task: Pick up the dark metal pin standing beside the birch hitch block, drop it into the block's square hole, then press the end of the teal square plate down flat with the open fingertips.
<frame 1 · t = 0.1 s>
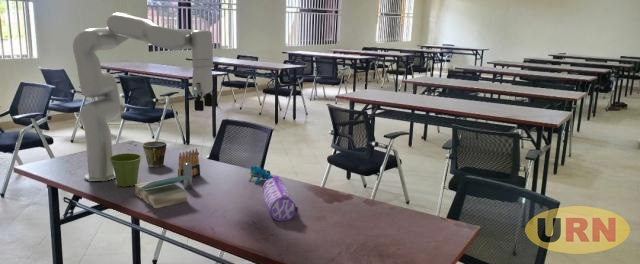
hand: (204, 108, 201), 31 cm above the table, tool pointing down, fingers open, 9 cm apart
plant pot: (127, 185, 207), on the table
gear: (260, 182, 215), on the table
pencil case: (278, 211, 184), on the table
hitch block: (160, 197, 194), on the table
ceramic cup: (155, 167, 232), on the table
ammunition clip: (189, 179, 217), on the table
teal square plate: (164, 182, 189), point 7 cm above the table, hinge at 25.0°
steel pin: (188, 188, 205), on the table
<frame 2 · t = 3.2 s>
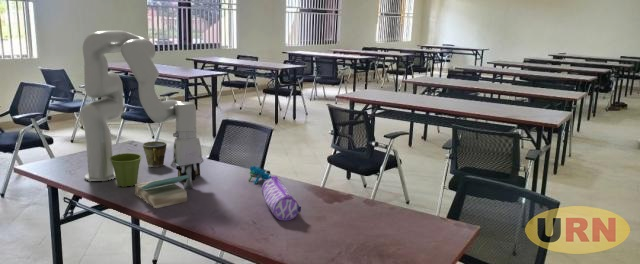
hand: (188, 180, 204), 3 cm above the table, tool pointing down, fingers closed on steel pin, 3 cm apart
steel pin: (188, 188, 205), on the table, touching gripper
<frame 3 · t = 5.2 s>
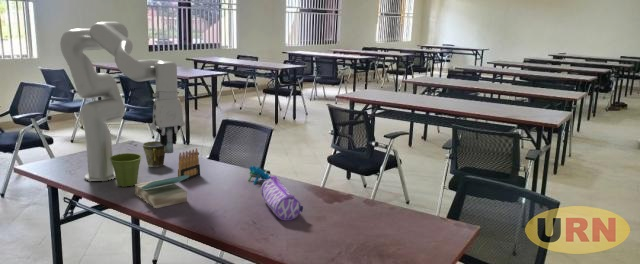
hand: (168, 143, 196), 19 cm above the table, tool pointing down, fingers closed on steel pin, 3 cm apart
steel pin: (168, 152, 197), point 16 cm above the table, touching gripper
everything else where it was.
when the fingers open (6 cm above the table, at t = 7.6 s): steel pin drops 1 cm, resting on hitch block.
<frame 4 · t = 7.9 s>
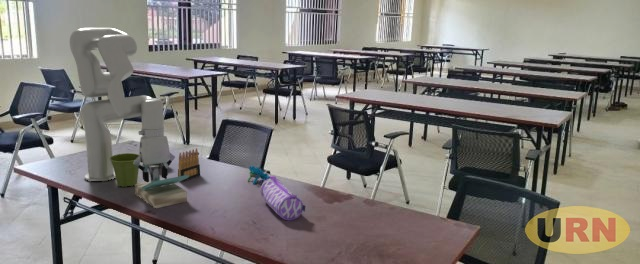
hand: (155, 179, 195), 6 cm above the table, tool pointing down, fingers open, 6 cm apart
steel pin: (156, 192, 196), point 1 cm above the table, touching hitch block
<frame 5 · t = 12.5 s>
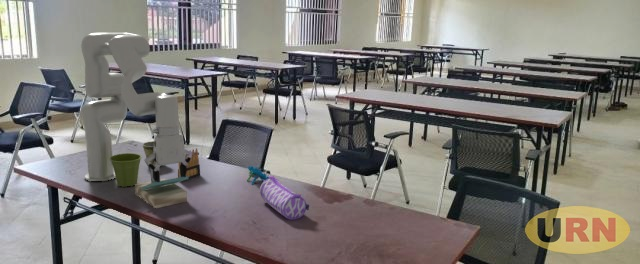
hand: (170, 178, 185), 10 cm above the table, tool pointing down
teal square plate: (164, 182, 189), point 7 cm above the table, hinge at 23.3°, touching gripper
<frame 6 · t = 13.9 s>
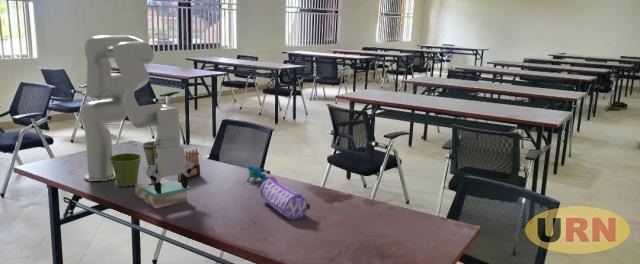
hand: (171, 189, 186), 6 cm above the table, tool pointing down
teal square plate: (166, 188, 189), point 5 cm above the table, hinge at 3.3°, touching gripper
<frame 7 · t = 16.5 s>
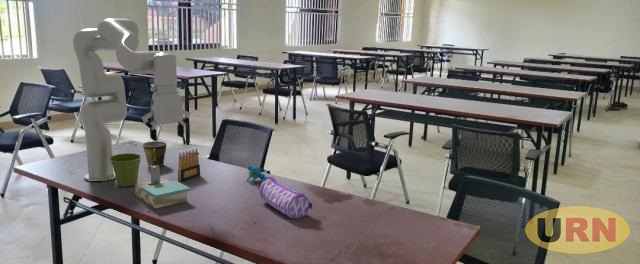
hand: (167, 138, 184), 24 cm above the table, tool pointing down, fingers open, 9 cm apart
teal square plate: (166, 189, 189), point 5 cm above the table, hinge at 1.9°
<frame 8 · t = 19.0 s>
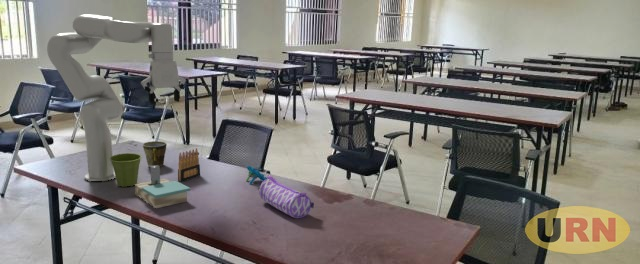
hand: (164, 102, 200), 33 cm above the table, tool pointing down, fingers open, 9 cm apart
at the end: steel pin 0.0 cm from the target spot on the hitch block, point 1.0 cm above the hitch block's base; steel pin tilted 0°; teal square plate at +2° (first picture: +25°) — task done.
